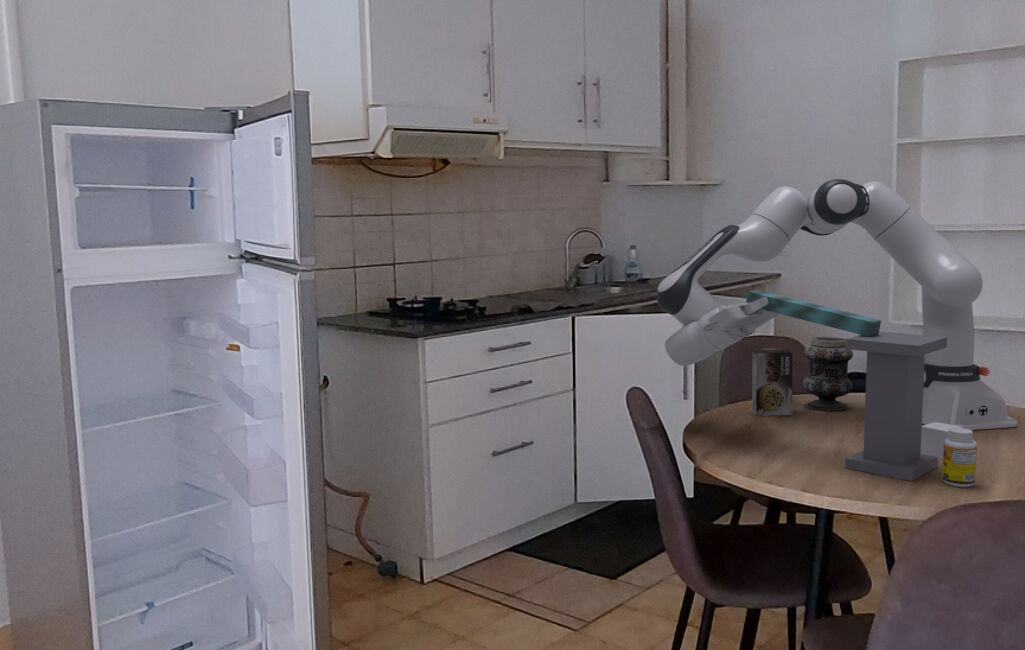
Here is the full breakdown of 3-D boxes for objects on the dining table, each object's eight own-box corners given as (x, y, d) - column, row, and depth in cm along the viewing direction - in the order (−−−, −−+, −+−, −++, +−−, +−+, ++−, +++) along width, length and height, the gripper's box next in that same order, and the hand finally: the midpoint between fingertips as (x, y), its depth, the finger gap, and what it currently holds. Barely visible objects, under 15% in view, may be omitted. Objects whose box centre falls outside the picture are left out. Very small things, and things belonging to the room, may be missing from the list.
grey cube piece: (946, 460, 187) (947, 431, 187) (918, 454, 192) (919, 426, 192) (962, 455, 191) (963, 427, 190) (934, 449, 196) (935, 421, 195)
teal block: (745, 305, 200) (747, 291, 199) (755, 303, 202) (757, 290, 202) (869, 337, 181) (872, 322, 180) (878, 335, 184) (881, 320, 183)
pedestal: (841, 468, 183) (845, 338, 179) (871, 454, 192) (876, 331, 189) (913, 482, 173) (918, 345, 169) (941, 466, 183) (947, 337, 179)
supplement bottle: (944, 477, 176) (946, 425, 174) (976, 481, 173) (979, 428, 171) (940, 485, 171) (942, 431, 170) (973, 489, 168) (976, 435, 167)
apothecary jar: (859, 406, 237) (862, 337, 235) (838, 414, 229) (840, 342, 226) (815, 399, 246) (817, 333, 243) (793, 407, 237) (795, 338, 235)
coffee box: (787, 410, 234) (788, 347, 232) (792, 416, 228) (794, 351, 225) (750, 410, 235) (752, 347, 233) (754, 415, 228) (756, 351, 226)
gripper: (693, 317, 199) (742, 289, 190) (742, 309, 214) (791, 282, 205) (705, 344, 198) (755, 316, 189) (754, 333, 212) (803, 307, 203)
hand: (774, 298), depth 197 cm, fingers closed on teal block, 4 cm apart
